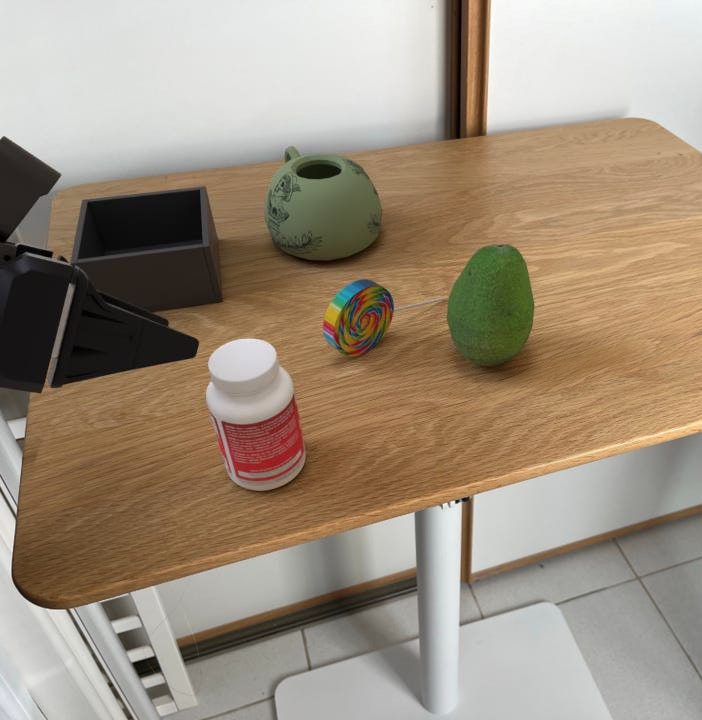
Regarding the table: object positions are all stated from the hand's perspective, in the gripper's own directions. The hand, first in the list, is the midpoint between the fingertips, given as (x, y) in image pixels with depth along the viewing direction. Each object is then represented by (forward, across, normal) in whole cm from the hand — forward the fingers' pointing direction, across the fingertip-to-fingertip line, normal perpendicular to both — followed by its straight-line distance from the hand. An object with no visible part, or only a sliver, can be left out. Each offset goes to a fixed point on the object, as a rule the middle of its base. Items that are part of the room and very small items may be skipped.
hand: (181, 337), depth 46 cm
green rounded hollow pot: (+20, +35, -12) cm, 42 cm away
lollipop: (+22, +17, -3) cm, 28 cm away
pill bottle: (+11, +8, +9) cm, 17 cm away
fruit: (+29, +9, -3) cm, 31 cm away
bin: (+4, +36, -2) cm, 36 cm away
